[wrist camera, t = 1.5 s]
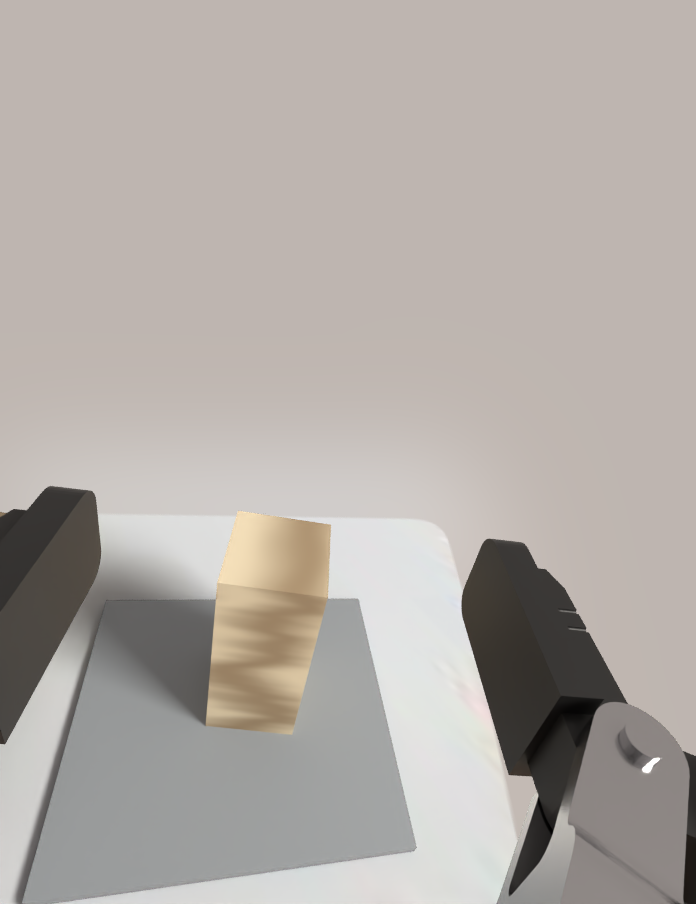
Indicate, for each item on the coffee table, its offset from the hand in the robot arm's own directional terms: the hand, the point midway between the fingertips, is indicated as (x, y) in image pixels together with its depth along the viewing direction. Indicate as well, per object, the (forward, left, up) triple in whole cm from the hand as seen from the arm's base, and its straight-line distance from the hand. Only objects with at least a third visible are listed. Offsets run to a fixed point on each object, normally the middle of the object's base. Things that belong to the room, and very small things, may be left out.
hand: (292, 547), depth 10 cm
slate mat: (+1, +9, -23) cm, 25 cm away
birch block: (+2, +10, -22) cm, 25 cm away
